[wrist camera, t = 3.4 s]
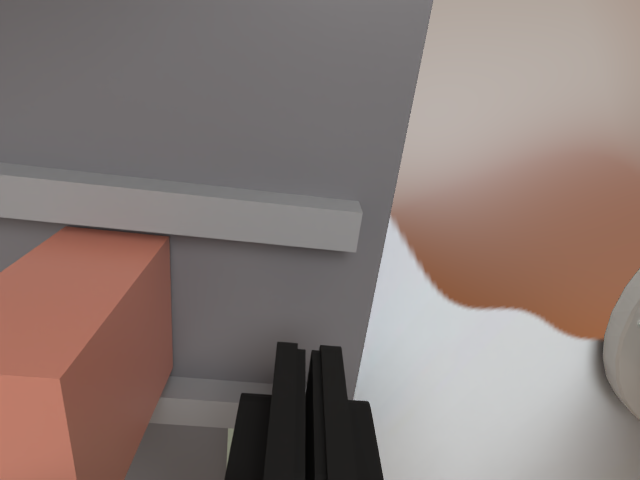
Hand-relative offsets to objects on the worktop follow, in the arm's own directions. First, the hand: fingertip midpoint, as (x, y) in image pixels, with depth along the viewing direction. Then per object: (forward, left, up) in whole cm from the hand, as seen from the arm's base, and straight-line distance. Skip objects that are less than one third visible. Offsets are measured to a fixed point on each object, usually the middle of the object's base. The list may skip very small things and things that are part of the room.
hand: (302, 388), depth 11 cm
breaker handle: (+6, 0, -3) cm, 7 cm away
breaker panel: (+5, 0, -6) cm, 8 cm away
